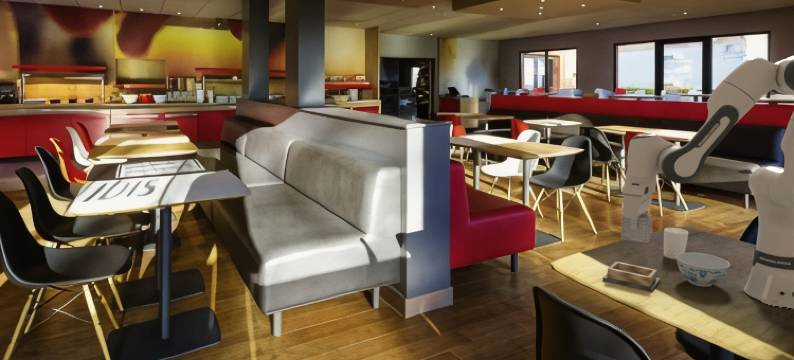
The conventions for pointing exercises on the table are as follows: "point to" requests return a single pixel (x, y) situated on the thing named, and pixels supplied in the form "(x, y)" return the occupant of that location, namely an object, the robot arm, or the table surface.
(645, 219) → the medicine box
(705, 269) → the chinaware
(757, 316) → the table surface
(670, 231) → the white cup
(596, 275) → the table surface
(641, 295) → the table surface
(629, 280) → the locating plate
